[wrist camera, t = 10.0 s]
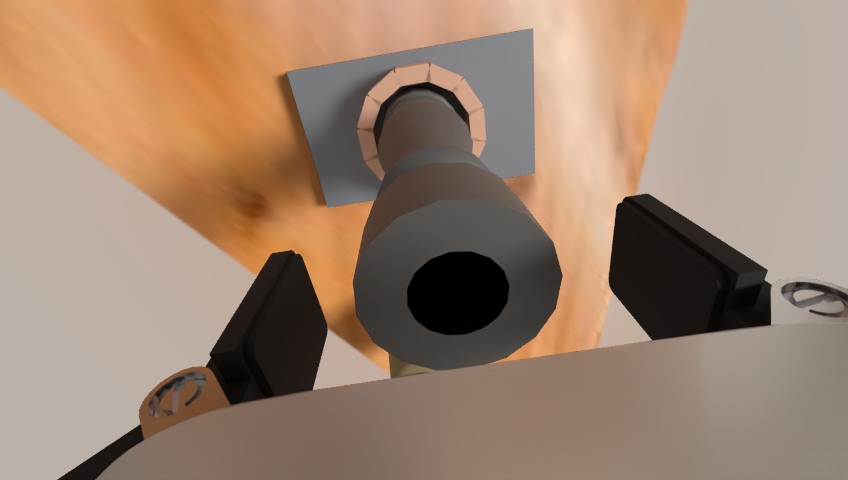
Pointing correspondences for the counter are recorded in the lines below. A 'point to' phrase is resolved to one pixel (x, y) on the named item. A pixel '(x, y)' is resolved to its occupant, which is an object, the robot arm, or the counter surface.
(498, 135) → the socket board
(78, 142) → the counter surface
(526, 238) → the candle holder
